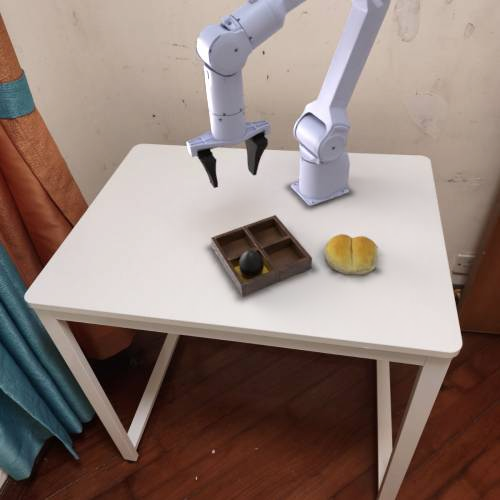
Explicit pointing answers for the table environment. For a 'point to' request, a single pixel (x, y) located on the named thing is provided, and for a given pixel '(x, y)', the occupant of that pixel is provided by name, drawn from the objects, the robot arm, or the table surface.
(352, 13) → the robot arm
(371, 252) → the bread roll
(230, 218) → the table surface
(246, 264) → the egg
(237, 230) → the brown compartment tray
